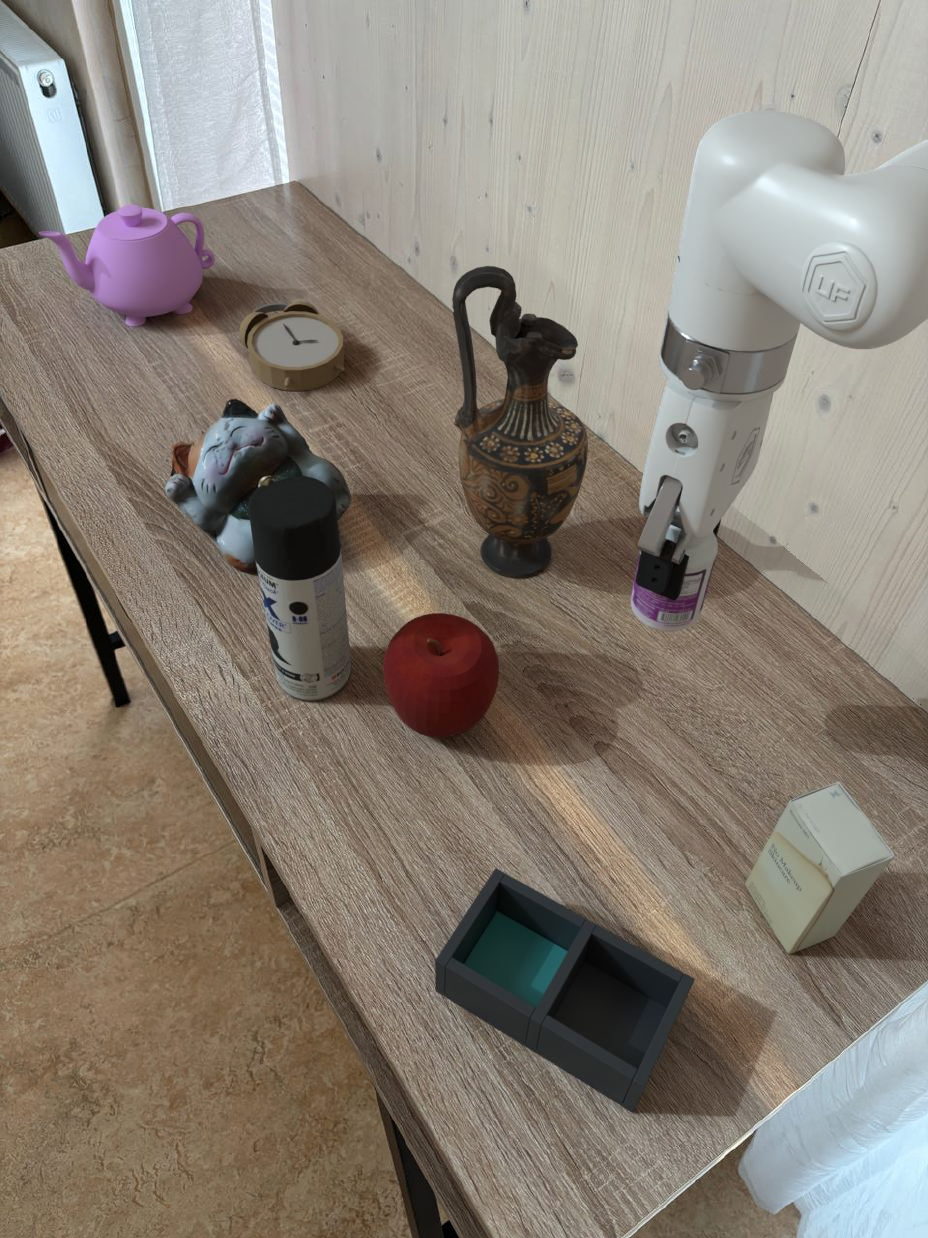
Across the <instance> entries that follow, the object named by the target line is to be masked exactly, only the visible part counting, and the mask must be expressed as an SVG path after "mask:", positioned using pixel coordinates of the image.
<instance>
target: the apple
mask: <svg viewBox="0 0 928 1238" xmlns="http://www.w3.org/2000/svg"><path fill="white" fill-rule="evenodd" d="M493 642H494V641H492V639H491V638H490V636H489V635H488V634H487V633H486V632H485V631H484V630H483V629H482V628H480V627H479V625H477V624H476V623H474V622H472V620H471V621H470V620H469V619H467V618H464V617H463V616H459V615H455V614H452V613H443V612H436V613H435V612H434V613H426V614H422V615H419V616H416V617H414V618H413V619H410V620H409V621H407V622H405V624H403V625H402V626H401V627H400V628H399V629H398V630H397V632H396V633H395V634H394V635H393V636H392V638H391V639H390V641H389V643H388V644H387V647H386V651H385V653H384V657H383V662H382V664H383V665H382V678H383V684H384V688H385V691H386V694H387V698H388V699H389V701H390V704H391V705H392V707H393V710H394V711H395V713H396V715H397V716H398V718H400V720H401V721H402V722H403V723H404V724H405V726H407V727H408V728H409V729H410V730H412V731H414V732H416V733H418V734H420V735H422V736H425V737H429V738H448V737H449V738H450V737H454V736H456V735H458V734H462V733H464V732H466V731H468V730H470V729H471V728H473V727H474V726H475V725H476V724H477V723H479V722H480V721H481V720H482V718H483V717H485V715H486V713H487V712H488V711H489V709H490V707H491V705H492V703H493V701H494V698H495V695H496V693H497V689H498V685H499V678H500V661H499V656H498V653H497V651H496V648H495V645H494V643H493Z"/></svg>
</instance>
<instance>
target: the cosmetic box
mask: <svg viewBox="0 0 928 1238" xmlns="http://www.w3.org/2000/svg"><path fill="white" fill-rule="evenodd" d="M894 856H895V855H894V852H893V850H891V848H890V846H889V845H888V844H887V843H886V842H885V839H884V838H883V837H882V835H881V834H880V833H879V831H877V829H876V828H875V827H874V825H873V823H872V822H871V821H870V819H869V818H868V817H867V816H866V815H865V813H864V811H862V809H861V808H860V807H859V805H858V803H856V801H855V800H854V799H853V798H852V796H851V795H850V794H849V793H848V791H847V789H845V787H844V786H843V784H842V783H841V782H840V781H836V782H834V783H831V784H828V785H826V786H822V787H820V788H817V789H815V790H811V791H809V792H806V793H804V794H801V795H799V796H797V797H795V798H792V799H790V800H789V801H788V803H787V804H786V807H785V808H784V810H783V812H782V814H781V815H780V817H779V819H778V820H777V823H776V825H775V826H774V828H773V830H772V832H771V834H770V836H769V837H768V840H767V841H766V843H765V845H764V847H763V848H762V850H761V852H760V854H759V856H758V858H757V860H756V861H755V862H754V863H755V864H754V865H753V866H752V869H751V871H750V873H749V874H748V876H747V879H746V880H745V882H744V886H745V888H746V889H747V891H748V892H749V894H750V895H751V897H752V899H753V901H754V902H755V904H756V906H757V908H758V909H759V911H760V912H761V914H762V915H763V917H764V918H765V920H766V922H767V923H768V925H769V927H770V929H771V930H772V932H773V933H774V934H775V936H776V938H777V939H778V941H779V942H780V944H781V946H782V947H783V949H784V950H785V952H786V953H787V954H788V955H792V954H795V953H797V952H799V951H802V950H805V949H807V948H809V947H812V946H814V945H816V944H819V943H821V942H824V941H826V940H829V939H831V938H833V937H835V936H836V934H838V932H839V930H840V929H841V928H842V927H843V925H844V924H845V923H846V921H847V920H848V918H850V916H851V915H852V913H853V912H854V910H855V909H856V907H857V906H858V905H859V904H860V902H861V901H862V899H863V898H864V897H865V896H866V894H867V893H868V892H869V890H870V889H871V888H872V886H873V885H874V883H876V881H877V880H878V879H879V877H880V875H881V874H882V873H883V872H884V870H885V869H886V867H887V866H888V865H889V863H890V862H891V861H892V859H893V858H894Z"/></svg>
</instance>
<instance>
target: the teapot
mask: <svg viewBox="0 0 928 1238" xmlns="http://www.w3.org/2000/svg"><path fill="white" fill-rule="evenodd" d="M183 223H193V224H194V227H195V244H194V246H193V243H191V241H190V240H189V238H188V237H187V236H186V235H185V233H184V232H183V231H182V230H181V228H180V227H178V225H180V224H183ZM38 234H39V235H40V236H42V237H44V238H46V239H49V240H50V241H51V242H53V243H54V244H55V246H56V247H57V249H58V250H59V253H60V256H61V260H62V262H63V265H64V268H65V270H66V272H67V274H68V276H69V278H71V280H72V282H74V284H75V285H77V286H78V287H80V288H81V289H83V290H86V291H89V293H90V294H91V296H92V297H93V298H94V300H96V301H97V302H98V303H99V304H101V305H102V306H103V307H105V308H107V309H108V310H111V311H112V312H114V313H116V314H119V315H122V316H125V324H126V325H127V326H129V327H139V326H142V325H144V324H145V323H146V322H147V317H154V316H156V317H157V316H161V315H164V314H165V315H166V314H167V313H170V312H173V313H175V314H178V315H183V314H188V313H190V312H191V311H193V305H192V304H190V301H191V300H192V298H193V297H195V295H196V293H197V292H198V290H199V288H200V287H201V286H202V284H203V283H202V282H203V279H204V278H203V277H204V271H203V270H208V269H211V267H213V265H214V264H215V260H216V259H215V255H214V253H213V252H212V251H211V250H210V249H206V248H205V249H204V244H205V228H204V224H203V223H202V221H201V219H200V218H199V217H197V216H196V215H194V214H192V213H189V212H179V213H176V214H174V215H172V216H171V217H168V215H166V214H165V213H163V212H162V211H159V210H157V209H153V208H150V207H141V206H140V205H137V204H126V205H123V206H120V207H119V208H118V210H116V211H113V212H110V213H109V214H107V215H105V216H104V217H102V218H101V219H100V220H99V222H98V223H97V225H96V227H95V229H94V231H93V233H92V236H91V238H90V242H89V244H88V248H87V251H86V257H85V262H83V261H80V260H79V259H78V257H77V256H76V253H75V250H74V248H73V245H72V243H71V242H70V240H69V239H68V237H67V236H66V235H64V234H63V233H61V232H58V231H53V230H51V231H50V230H43V231H39V232H38ZM206 256H207V258H206V259H204V260H203V257H206Z"/></svg>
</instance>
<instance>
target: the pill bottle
mask: <svg viewBox="0 0 928 1238" xmlns="http://www.w3.org/2000/svg"><path fill="white" fill-rule="evenodd" d="M676 511H678V512H680V511H679V507H678V508H677V510H676ZM680 531H681V529H680V528H678V527H675V526H673V525H670V527H669V529H668V531H667V534H666V539H669V540H671V541H673V542H675V543H677V540H678V537H679V534H680ZM718 543H719V542H718V540H717V538H716V536H715V535H714V533H713V530H712V532H711V533H709V534H708V535H706V536H704V537H702V538H696V537H695V536H692V535H691V538H690V540H689V543H688V546H687V549H686V552H685V554H686V555H688V556H689V560H688V565H687V569H686V573H685V577H684V581H683V585H682V589H681V593H680V595H679V597H678V598H677V599H676V600H671V599H668V598H666V597H664V596H661V595H659V594H657V593H654V592H652V591H650V590H647V589H645V588H643V587H640V586H639V585H637V583H636V576H637V571H638V565H639V560H640V555H641V550H639V552H638V558H637V563H636V568H635V573H634V578H633V584H632V588H631V595H630V605H631V610H632V612H633V614H634V616H635V617H636V619H638V621H640V622H641V623H642V624H643V625H645V626H646V627H649V628H650V629H653V630H655V631H659V632H666V633H676V632H680V631H683V630H686V629H689V628H691V627H693V626H694V625H695V624H696V623H697V622H698V620H699V619H700V618H701V614H702V611H703V608H704V604H705V601H706V600H705V599H706V596H707V593H708V590H709V585H710V580H711V577H712V574H713V571H714V566H715V563H716V560H717V556H718V551H719V545H718Z"/></svg>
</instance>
